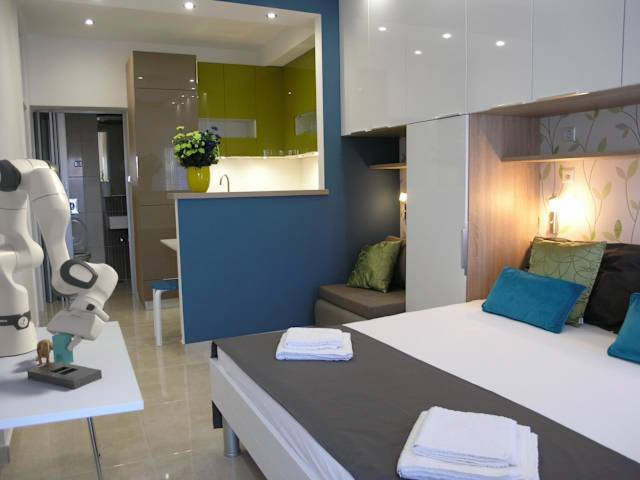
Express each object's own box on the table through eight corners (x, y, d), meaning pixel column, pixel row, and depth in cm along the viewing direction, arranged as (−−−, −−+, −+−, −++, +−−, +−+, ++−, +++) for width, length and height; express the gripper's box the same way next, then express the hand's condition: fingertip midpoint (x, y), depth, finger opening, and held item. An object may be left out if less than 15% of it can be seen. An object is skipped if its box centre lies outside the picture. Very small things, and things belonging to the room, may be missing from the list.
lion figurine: (58, 365, 187) (56, 338, 186) (40, 369, 183) (38, 342, 182) (46, 354, 198) (44, 329, 197) (30, 358, 195) (28, 332, 194)
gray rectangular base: (28, 378, 174) (27, 370, 174) (56, 368, 183) (55, 361, 183) (74, 389, 165) (73, 381, 165) (101, 377, 174) (101, 370, 173)
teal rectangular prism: (54, 363, 173) (51, 336, 172) (62, 360, 176) (60, 333, 175) (65, 365, 171) (62, 337, 170) (73, 362, 174) (71, 335, 173)
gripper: (56, 302, 182) (31, 339, 175) (101, 307, 173) (76, 347, 165) (69, 312, 187) (45, 349, 179) (113, 318, 177) (90, 357, 170)
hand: (60, 348), depth 172 cm, fingers closed on teal rectangular prism, 5 cm apart
